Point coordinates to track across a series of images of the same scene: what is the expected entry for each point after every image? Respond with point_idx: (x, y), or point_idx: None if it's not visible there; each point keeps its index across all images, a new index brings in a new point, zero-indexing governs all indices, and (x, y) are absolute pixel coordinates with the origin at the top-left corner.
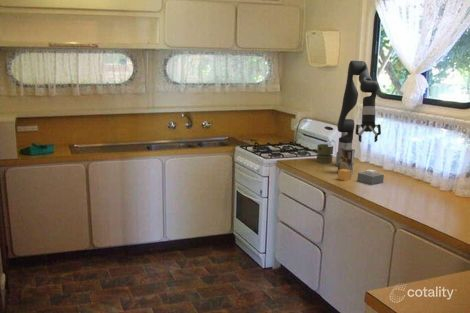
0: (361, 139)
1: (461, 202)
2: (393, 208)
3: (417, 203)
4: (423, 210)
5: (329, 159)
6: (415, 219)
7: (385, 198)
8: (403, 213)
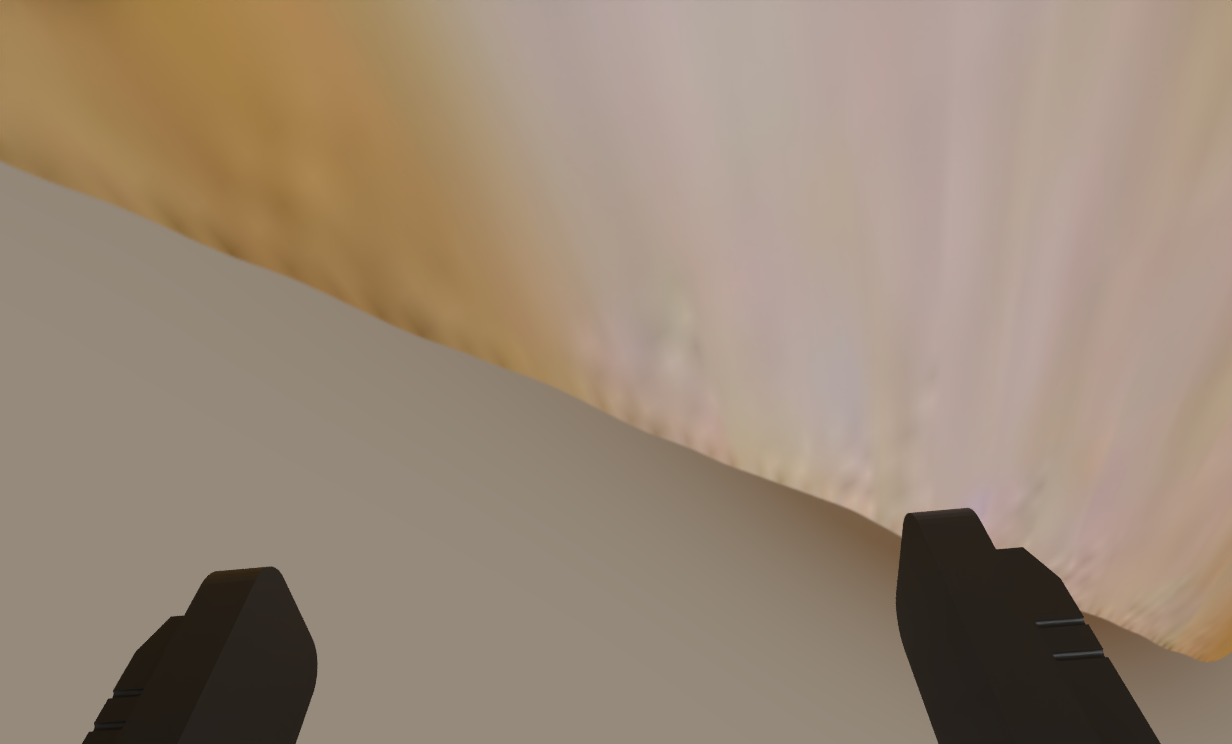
0: (223, 661)
1: None
2: None
3: (1167, 321)
4: (1161, 445)
5: None
6: None
7: (881, 358)
8: None
